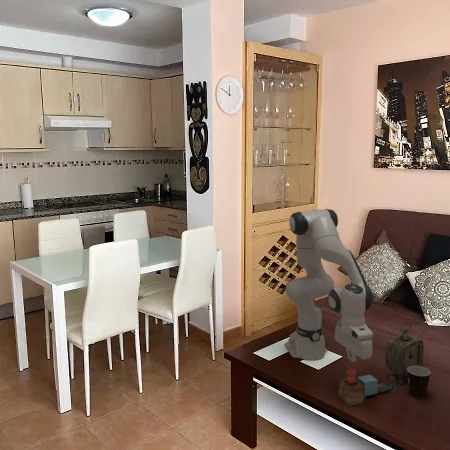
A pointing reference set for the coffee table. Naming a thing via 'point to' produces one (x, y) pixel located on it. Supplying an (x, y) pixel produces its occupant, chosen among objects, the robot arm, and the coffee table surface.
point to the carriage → (368, 384)
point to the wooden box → (351, 392)
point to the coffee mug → (418, 381)
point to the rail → (387, 386)
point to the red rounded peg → (351, 377)
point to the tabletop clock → (404, 353)
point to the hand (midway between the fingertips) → (351, 360)
